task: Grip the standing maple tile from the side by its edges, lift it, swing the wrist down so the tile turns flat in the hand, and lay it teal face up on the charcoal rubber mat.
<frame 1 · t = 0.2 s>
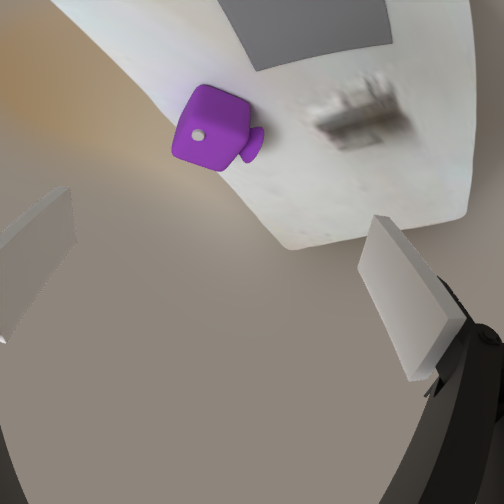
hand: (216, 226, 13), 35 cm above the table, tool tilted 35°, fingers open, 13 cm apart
toy camera: (224, 111, 49), on the table
mat: (306, 5, 31), on the table
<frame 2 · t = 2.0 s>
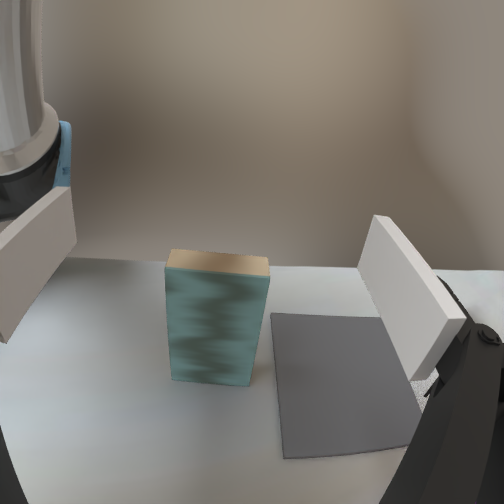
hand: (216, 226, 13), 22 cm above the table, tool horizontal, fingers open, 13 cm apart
tile: (211, 372, 33), on the table
mat: (345, 376, 34), on the table
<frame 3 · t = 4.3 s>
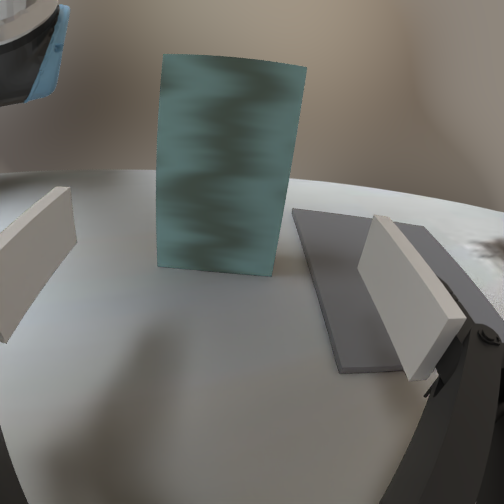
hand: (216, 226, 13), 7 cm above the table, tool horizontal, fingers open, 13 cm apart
tile: (215, 260, 24), on the table
mat: (399, 274, 25), on the table
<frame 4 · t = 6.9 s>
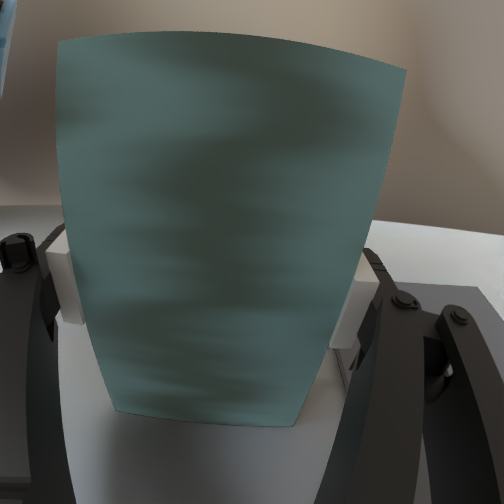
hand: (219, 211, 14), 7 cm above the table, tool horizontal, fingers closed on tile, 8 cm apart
tile: (205, 396, 14), on the table, touching gripper
mat: (463, 385, 15), on the table
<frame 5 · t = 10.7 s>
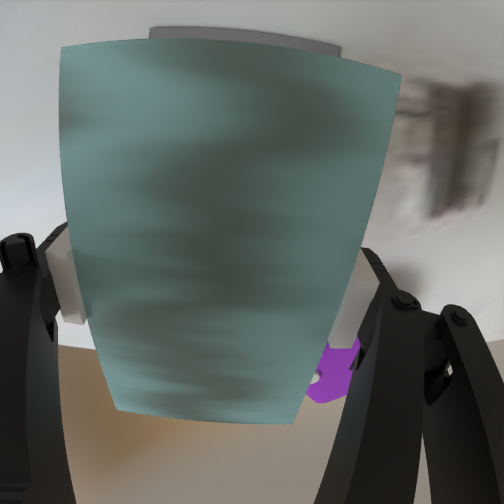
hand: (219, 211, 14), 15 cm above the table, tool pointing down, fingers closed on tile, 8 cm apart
toy camera: (335, 308, 38), on the table
tile: (205, 394, 14), point 20 cm above the table, tilted 90°, touching gripper
mat: (231, 140, 27), on the table
when the fingers open (2 cm above the table, at t = 14.5 s): tile drops 4 cm, resting on mat.
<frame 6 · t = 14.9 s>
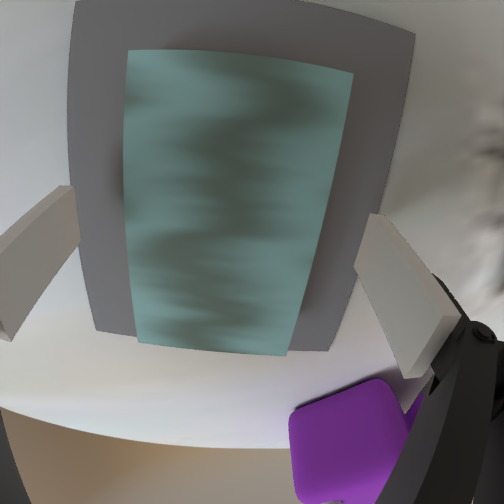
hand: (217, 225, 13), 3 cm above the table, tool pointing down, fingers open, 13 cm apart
toy camera: (362, 401, 27), on the table
tile: (213, 331, 18), point 2 cm above the table, tilted 90°, touching mat
mat: (221, 197, 16), on the table
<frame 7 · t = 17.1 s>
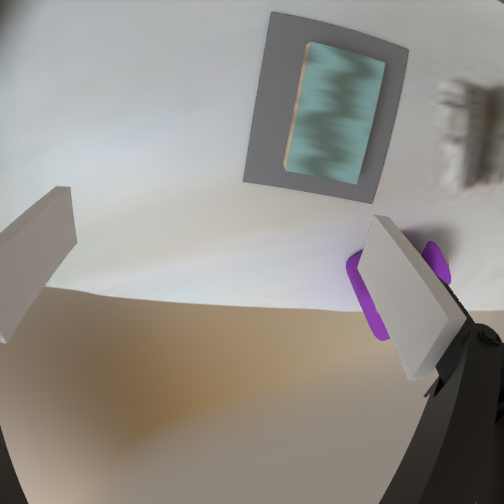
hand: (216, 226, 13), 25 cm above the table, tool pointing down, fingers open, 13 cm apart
toy camera: (389, 261, 43), on the table
tile: (319, 173, 35), point 2 cm above the table, tilted 90°, touching mat
mat: (327, 109, 33), on the table
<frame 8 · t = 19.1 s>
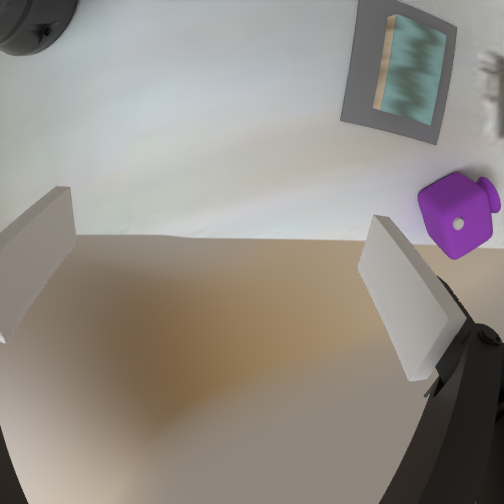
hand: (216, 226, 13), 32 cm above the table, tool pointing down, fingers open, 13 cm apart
toy camera: (448, 197, 47), on the table
tile: (402, 116, 38), point 2 cm above the table, tilted 90°, touching mat
mat: (403, 67, 36), on the table
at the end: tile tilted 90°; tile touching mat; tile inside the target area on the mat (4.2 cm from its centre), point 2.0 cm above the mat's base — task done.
